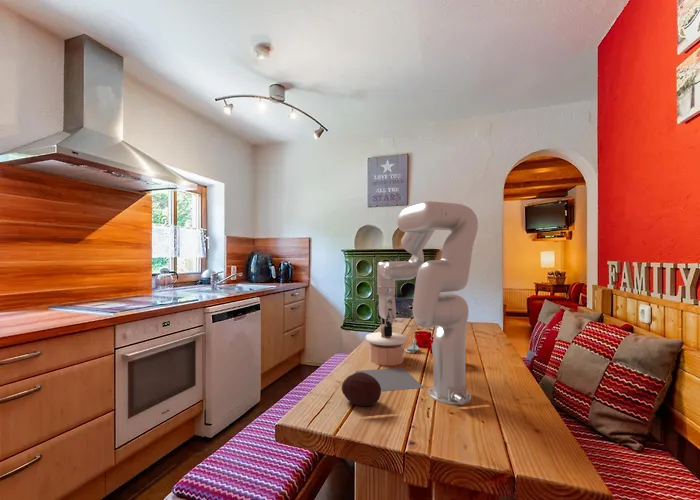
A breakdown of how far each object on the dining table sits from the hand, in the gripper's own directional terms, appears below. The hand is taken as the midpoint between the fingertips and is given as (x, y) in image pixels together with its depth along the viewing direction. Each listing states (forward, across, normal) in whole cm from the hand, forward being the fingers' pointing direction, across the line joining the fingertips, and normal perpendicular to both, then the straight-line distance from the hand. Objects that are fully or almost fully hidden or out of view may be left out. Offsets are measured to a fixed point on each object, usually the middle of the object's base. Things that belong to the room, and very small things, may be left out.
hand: (386, 334), depth 130 cm
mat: (+11, -20, +6) cm, 24 cm away
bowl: (+11, 0, 0) cm, 11 cm away
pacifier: (+11, +11, -16) cm, 22 cm away
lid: (+2, 0, 0) cm, 2 cm away
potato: (+11, -36, +19) cm, 42 cm away
